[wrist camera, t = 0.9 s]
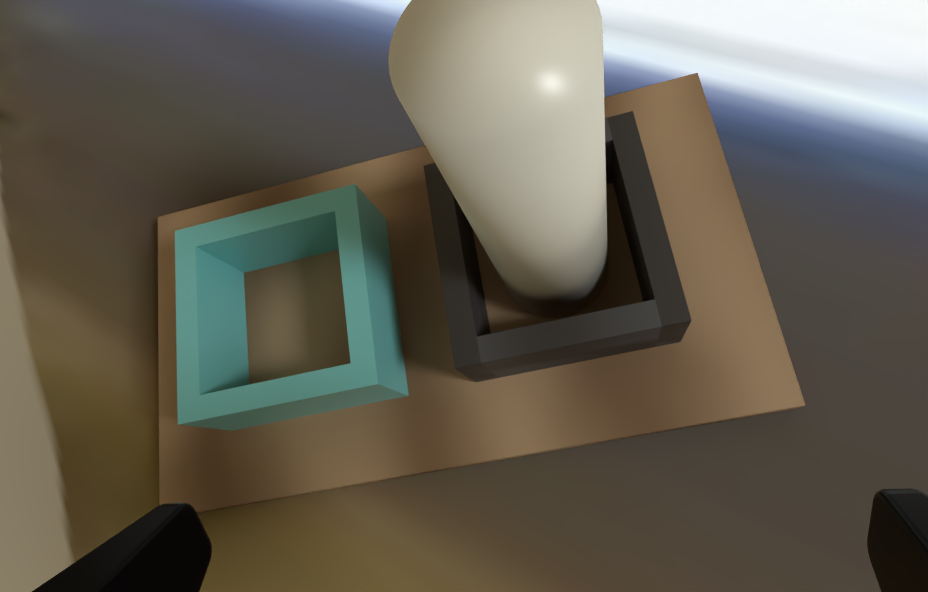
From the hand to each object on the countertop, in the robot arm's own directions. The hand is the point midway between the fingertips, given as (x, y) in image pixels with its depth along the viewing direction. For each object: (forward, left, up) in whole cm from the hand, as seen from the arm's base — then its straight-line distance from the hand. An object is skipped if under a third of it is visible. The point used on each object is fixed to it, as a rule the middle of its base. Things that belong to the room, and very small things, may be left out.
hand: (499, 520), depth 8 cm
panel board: (+3, +8, -13) cm, 15 cm away
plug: (+6, +4, -12) cm, 14 cm away
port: (0, +11, -12) cm, 16 cm away
